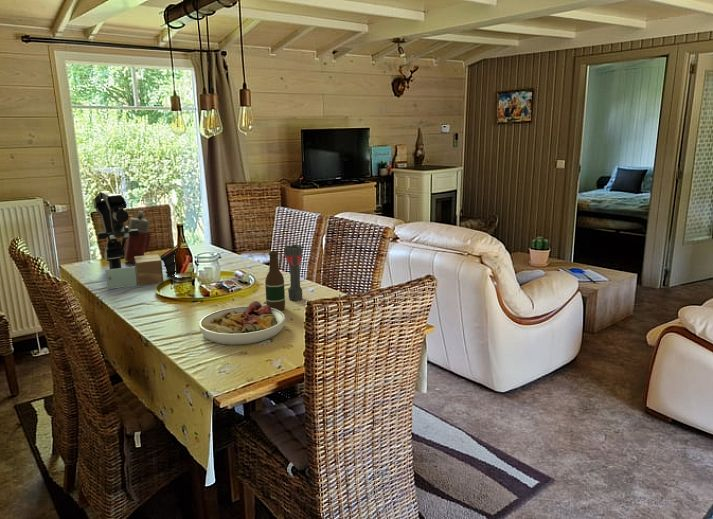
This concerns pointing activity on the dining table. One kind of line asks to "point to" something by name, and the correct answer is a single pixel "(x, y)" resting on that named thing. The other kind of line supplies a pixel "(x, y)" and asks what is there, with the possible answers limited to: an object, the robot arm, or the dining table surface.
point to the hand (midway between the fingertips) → (120, 251)
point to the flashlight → (294, 270)
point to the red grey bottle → (137, 238)
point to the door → (121, 277)
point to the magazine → (169, 261)
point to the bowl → (242, 324)
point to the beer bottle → (275, 284)
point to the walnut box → (149, 269)
